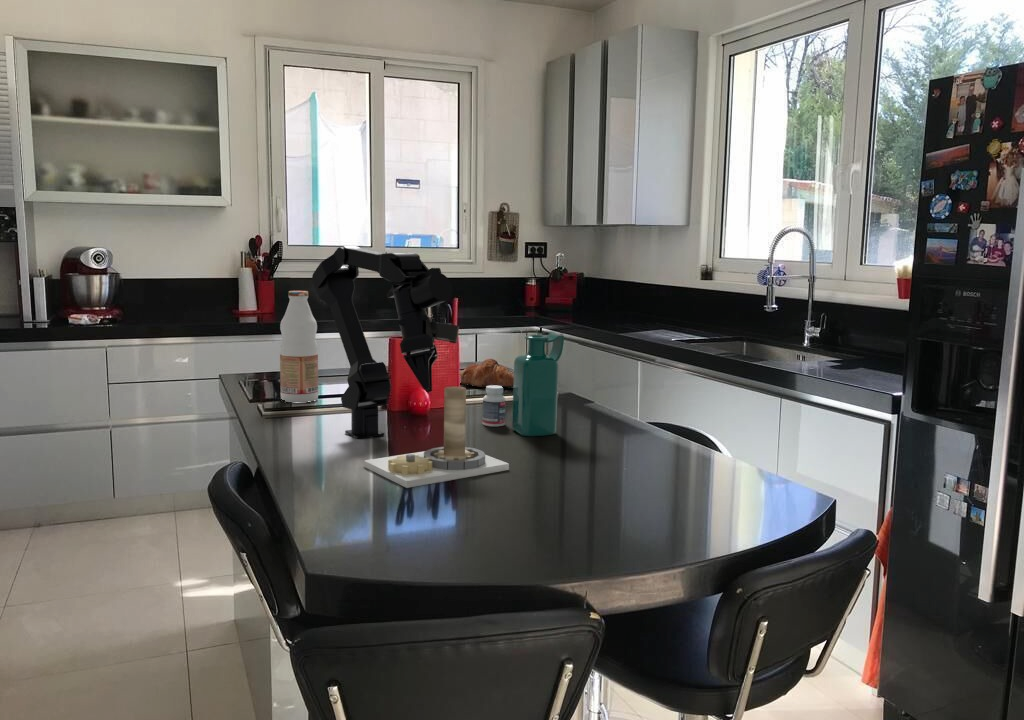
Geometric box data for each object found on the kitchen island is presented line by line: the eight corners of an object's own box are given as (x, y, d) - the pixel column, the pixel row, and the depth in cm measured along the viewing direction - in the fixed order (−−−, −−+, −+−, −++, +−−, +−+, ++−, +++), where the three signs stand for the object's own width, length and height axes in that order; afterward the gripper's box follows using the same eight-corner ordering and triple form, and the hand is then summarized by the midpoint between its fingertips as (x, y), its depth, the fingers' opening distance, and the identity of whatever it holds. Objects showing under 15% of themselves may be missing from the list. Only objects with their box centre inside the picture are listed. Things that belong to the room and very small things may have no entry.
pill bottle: (502, 427, 200) (503, 389, 198) (480, 426, 201) (480, 388, 200) (507, 422, 205) (507, 385, 204) (485, 421, 206) (486, 384, 205)
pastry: (467, 392, 244) (467, 363, 243) (451, 382, 258) (451, 355, 257) (523, 389, 250) (524, 361, 249) (504, 380, 264) (505, 354, 263)
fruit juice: (280, 404, 219) (278, 292, 215) (280, 397, 228) (279, 289, 224) (318, 403, 222) (318, 292, 217) (317, 396, 231) (316, 290, 226)
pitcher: (523, 437, 191) (526, 337, 188) (509, 429, 199) (511, 332, 195) (564, 434, 194) (567, 336, 191) (549, 426, 202) (552, 331, 199)
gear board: (363, 466, 165) (363, 447, 164) (461, 451, 178) (462, 433, 177) (406, 487, 152) (406, 467, 151) (508, 469, 165) (509, 450, 164)
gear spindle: (432, 456, 168) (433, 385, 166) (471, 456, 169) (472, 384, 167) (435, 467, 161) (436, 392, 159) (476, 466, 162) (477, 392, 160)
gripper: (450, 298, 166) (467, 379, 165) (453, 312, 184) (468, 385, 183) (392, 310, 165) (409, 391, 164) (401, 323, 184) (416, 396, 183)
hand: (428, 390), depth 173 cm, fingers open, 9 cm apart
